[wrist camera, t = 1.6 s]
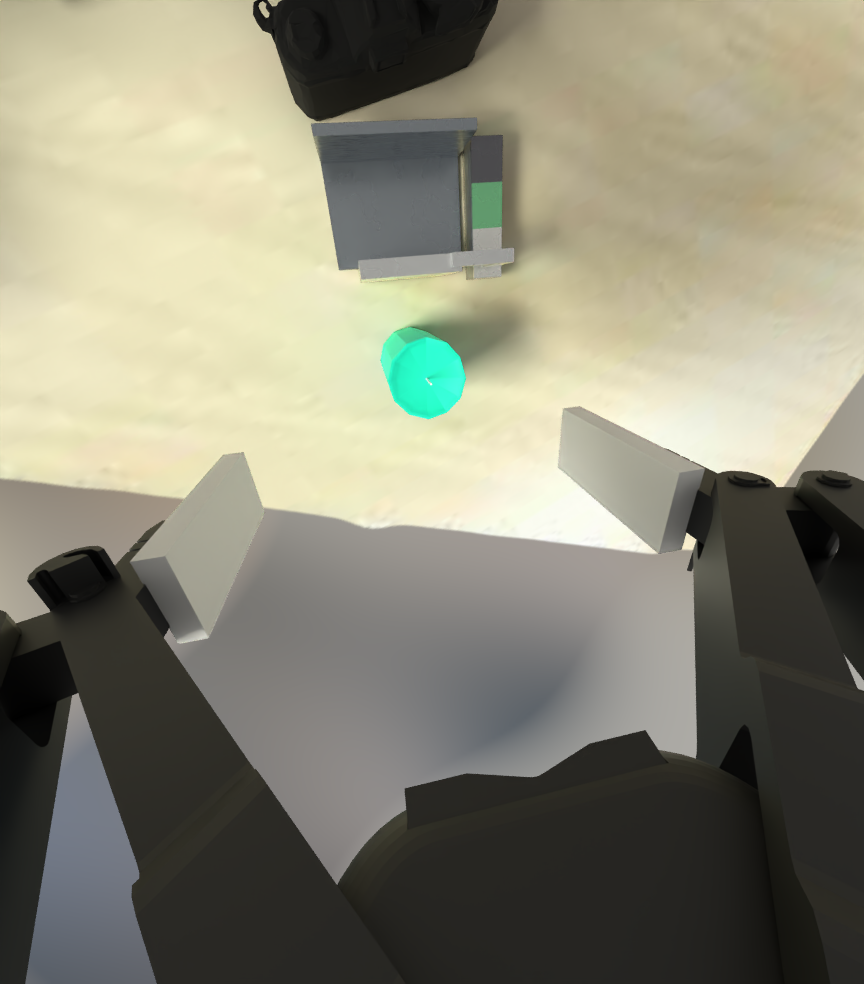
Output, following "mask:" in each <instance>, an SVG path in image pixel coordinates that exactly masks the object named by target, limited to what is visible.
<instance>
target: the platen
mask: <svg viewBox="0 0 864 984" xmlns="http://www.w3.org/2000/svg"><path fill="white" fill-rule="evenodd" d="M513 262H514V248H502V249H490V250H477V251H464V252H452V253H447V254H434V255H421V256H408V257H396V258H383V259H370V260H358V267H359V274H360V281H361V283H364V282H376V281H388V280H399V279H411V278H423V277H434V276H445V275H449V274H453V273H457V272H461V271H462V267H464V266H476V265H481V267H493V266H500V265H504V264H508V263H513Z"/></svg>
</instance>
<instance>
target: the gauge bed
mask: <svg viewBox="0 0 864 984" xmlns="http://www.w3.org/2000/svg"><path fill="white" fill-rule="evenodd" d="M311 126H312V132H313V137H314V141H315V144H316V148H317V151H318V155H319V158H320V162H321V166H322V172H323V178H324V184H325V190H326V196H327V202H328V207H329V213H330V219H331V225H332V231H333V237H334V243H335V249H336V255H337V260H338V266H339V270H350V269H359V267H358V260H370V259H383V258H396V257H408V256H421V255H434V254H447V253H452V252H461V235H460V206H459V177H458V156H459V155H460V153H461V152H462V150H463V180H464V213H465V246H466V251H477V250H490V249H502V146H503V135H491V136H473V135H474V133H475V132H476V130H477V118H453V119H426V120H398V121H370V122H343V123H315V124H311ZM495 277H501V265H500V266H493V267H481V265H476V266H466V280H473V279H485V278H495Z"/></svg>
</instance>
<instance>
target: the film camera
mask: <svg viewBox="0 0 864 984" xmlns="http://www.w3.org/2000/svg"><path fill="white" fill-rule="evenodd" d="M262 1H263V2H265V3H266V4H267V5H266V9H267V10H268V12H269V13H270V14H269V17H268V18H265V17H264V15H263V14H262V13H261V11H260V9H259V7H258V6H259V3H260V2H262ZM497 3H498V0H282V1H280V2H278V5H277V6H274V7H272V6H271V4H270V3H269V2H268V0H257V1H255V2H254V5H253V15H254V17H255V19H256V21H257V23H258V25H259V26H260V28H261V29H262V30H263V31H265V32H268V33H270V34H271V35H272V38H273V40H274V42H275V44H276V48H277V51H278V54H279V57H280V60H281V63H282V66H283V69H284V72H285V75H286V78H287V81H288V84H289V87H290V90H291V93H292V95H293V98H294V101H295V103H296V104H297V105H298V106H299V107H300V109H301V110H302V111H303V112H304V113H305V114H306V115H307V116H308V117H309V118H312V119H314V120H316V121H320V120H322V119H326V118H332V117H334V116H337V115H339V114H340V113H344V112H347V111H350V110H353V109H356V108H359V107H362V106H365V105H368V104H370V103H373V102H376V101H379V100H381V99H384V98H388V97H391V96H394V95H397V94H399V93H402V92H405V91H408V90H411V89H413V88H416V87H419V86H421V85H424V84H427V83H430V82H433V81H435V80H437V79H440V78H442V77H445V76H447V75H449V74H452V73H454V72H456V71H458V70H460V69H462V68H465V67H467V66H468V65H469V63H470V62H471V61H472V60H473V58H474V56H475V52H476V49H477V47H478V45H479V43H480V41H481V39H482V37H483V35H484V33H485V31H486V29H487V27H488V25H489V22H490V21H491V19H492V17H493V15H494V14H495V11H496V7H497Z"/></svg>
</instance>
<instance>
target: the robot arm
mask: <svg viewBox="0 0 864 984" xmlns="http://www.w3.org/2000/svg"><path fill="white" fill-rule="evenodd" d="M558 468H559V469H560V470H562V471H563V472H564V473H565V474H566V475H567V476H569V477H570V478H571V479H572V480H573V481H574V482H576V483H577V484H578V485H579V486H580V487H581V488H582V489H584V490H585V491H586V492H587V493H588V494H589V495H591V496H592V497H593V498H594V499H595V500H596V501H598V502H599V503H600V504H601V505H602V506H603V507H605V508H606V509H607V510H608V511H609V512H610V513H612V514H613V515H614V516H615V517H616V518H617V519H619V520H620V521H621V522H622V523H623V524H624V525H626V526H627V527H628V528H629V529H630V530H631V531H633V532H634V533H635V534H636V535H637V536H638V537H640V538H641V539H642V540H643V541H644V542H645V543H647V544H648V545H649V546H650V547H651V548H652V549H654V550H655V551H656V552H657V553H658V554H661V553H666V552H672V551H677V550H681V549H682V546H683V543H684V539H685V536H686V532H687V533H688V534H690V535H691V536H692V537H694V538H695V539H697V540H696V543H695V546H694V549H693V553H692V556H691V559H690V563H689V566H688V569H687V570H688V571H692V569H694V618H695V668H696V715H697V755H696V759H695V758H692V757H689V756H685V755H682V754H677V753H671V752H667V751H661V750H658V749H657V747H656V746H655V744H654V743H653V741H652V740H651V738H650V737H649V735H648V734H647V732H646V731H645V730H644V731H640V732H636V733H632V734H628V735H623V736H620V737H615V738H611V739H607V740H603V741H599V742H595V743H590V744H588V745H587V746H585V747H584V748H582V749H581V750H579V751H577V752H576V753H575V754H573V755H571V756H570V757H568V758H567V759H565V760H563V761H562V762H560V763H559V764H557V765H556V766H554V767H553V768H551V769H549V770H548V771H546V772H545V773H543V774H541V775H540V776H537V777H516V776H499V775H483V774H463V775H459V776H455V777H451V778H446V779H442V780H438V781H434V782H430V783H426V784H421V785H418V786H414V787H409V788H405V797H406V798H405V799H406V810H405V811H404V812H402V813H400V814H399V815H397V816H396V817H394V818H393V819H391V820H390V821H389V822H388V823H387V824H385V825H384V826H383V827H382V828H380V829H379V830H378V831H377V832H376V833H375V834H374V835H373V836H372V838H371V839H369V840H368V842H367V843H366V844H365V845H364V846H363V847H362V849H361V850H360V851H359V853H358V854H357V855H356V856H355V858H354V859H353V860H352V862H351V863H350V865H349V867H348V868H347V870H346V871H345V873H344V875H343V876H342V878H341V879H340V881H339V883H338V885H337V884H336V883H335V882H334V880H333V879H332V877H331V876H330V874H329V873H328V872H327V870H326V869H325V867H324V866H323V864H322V863H321V861H320V860H319V859H318V857H317V856H316V854H315V853H314V851H313V850H312V849H311V847H310V846H309V844H308V843H307V841H306V840H305V839H304V837H303V836H302V834H301V833H300V832H299V830H298V828H297V827H296V825H295V824H294V823H293V821H292V820H291V818H290V817H289V816H288V814H287V812H286V811H285V810H284V809H283V807H282V805H281V804H280V802H279V801H278V800H277V798H276V797H275V795H274V794H273V792H272V791H271V790H270V788H269V787H268V785H267V784H266V782H265V781H264V780H263V778H262V777H261V775H260V774H259V773H258V771H257V770H256V769H254V768H253V767H252V765H251V764H250V762H249V761H248V760H247V758H246V757H245V755H244V754H243V752H242V751H241V750H240V748H239V747H238V745H237V744H236V742H235V741H234V739H233V738H232V736H231V735H230V733H229V732H228V731H227V729H226V728H225V726H224V725H223V723H222V722H221V720H220V719H219V717H218V716H217V715H216V713H215V712H214V710H213V709H212V707H211V706H210V704H209V703H208V702H207V700H206V699H205V697H204V696H203V694H202V693H201V691H200V690H199V688H198V687H197V686H196V684H195V683H194V681H193V680H192V678H191V677H190V676H189V674H188V672H187V671H186V670H185V668H184V667H183V665H182V664H181V663H180V661H179V660H178V658H177V657H176V655H175V654H174V652H173V651H172V649H171V648H170V646H169V645H168V643H167V642H166V641H165V639H164V636H165V634H166V633H167V631H168V629H169V628H170V630H171V632H172V633H173V635H174V637H175V639H176V640H177V642H178V643H185V642H191V641H195V640H201V639H206V638H209V637H210V634H211V632H212V629H213V628H214V625H215V623H216V621H217V619H218V616H219V614H220V612H221V609H222V607H223V605H224V603H225V601H226V598H227V596H228V594H229V592H230V589H231V587H232V585H233V583H234V580H235V578H236V576H237V574H238V571H239V569H240V567H241V565H242V562H243V560H244V558H245V556H246V554H247V551H248V549H249V547H250V545H251V542H252V540H253V538H254V536H255V533H256V531H257V529H258V527H259V524H260V522H261V520H262V517H263V515H264V509H263V506H262V503H261V501H260V498H259V495H258V492H257V489H256V486H255V483H254V481H253V478H252V475H251V472H250V469H249V466H248V463H247V461H246V458H245V455H244V452H241V453H234V454H227V455H223V456H222V457H221V458H220V459H219V460H218V461H217V462H216V464H215V465H214V466H213V467H212V468H211V469H210V470H209V472H208V473H207V474H206V475H205V476H204V477H203V478H202V480H201V481H200V482H199V483H198V484H197V485H196V486H195V488H194V489H193V490H192V491H191V492H190V493H189V494H188V496H187V497H186V498H185V499H184V500H183V502H181V504H180V505H179V506H178V507H177V508H176V509H175V511H174V512H173V513H172V514H171V515H170V516H169V517H168V519H167V520H164V521H161V522H160V523H158V524H156V525H155V526H153V527H152V528H150V529H149V530H148V531H146V532H145V533H144V535H143V536H142V537H141V538H140V539H139V540H138V541H137V542H138V543H135V544H134V545H133V547H132V548H131V549H130V552H127V553H126V554H125V555H124V556H123V557H122V559H121V560H120V561H119V562H118V563H117V564H116V565H115V566H114V564H113V562H112V561H111V559H110V558H109V556H108V554H107V553H106V551H105V550H104V549H103V548H101V547H99V546H89V547H83V548H78V549H75V550H72V551H69V552H66V553H63V554H61V555H59V556H57V557H54V558H52V559H50V560H48V561H46V562H45V563H43V564H42V565H40V566H39V567H37V568H36V569H35V570H34V571H33V572H32V573H31V574H30V575H29V577H28V580H27V581H28V583H29V584H30V585H31V586H32V588H33V589H34V590H35V592H36V593H37V594H38V595H39V597H40V598H41V599H42V600H43V602H44V603H45V604H46V606H47V607H48V608H49V609H50V612H49V613H46V614H43V615H40V616H38V617H34V618H31V619H28V620H25V621H22V622H19V623H15V622H14V621H13V620H12V619H11V617H9V615H8V614H7V613H6V612H4V611H1V610H0V984H25V981H26V975H27V968H28V962H29V956H30V950H31V944H32V938H33V932H34V926H35V919H36V913H37V907H38V901H39V895H40V888H41V883H42V876H43V870H44V864H45V858H46V852H47V845H48V840H49V833H50V827H51V821H52V815H53V809H54V802H55V797H56V790H57V784H58V778H59V772H60V766H61V760H62V753H63V748H64V741H65V735H66V729H67V723H68V716H69V711H70V705H71V698H72V695H74V694H77V693H79V696H80V699H81V702H82V705H83V708H84V711H85V714H86V717H87V719H88V722H89V725H90V728H91V731H92V734H93V737H94V740H95V743H96V746H97V749H98V751H99V754H100V757H101V760H102V763H103V766H104V769H105V772H106V775H107V778H108V780H109V784H110V786H111V789H112V792H113V795H114V798H115V801H116V804H117V807H118V810H119V813H120V816H121V819H122V821H123V824H124V827H125V830H126V833H127V836H128V839H129V842H130V845H131V848H132V850H133V853H134V856H135V859H136V862H137V865H138V869H139V873H140V874H139V879H138V880H137V881H136V882H135V883H134V884H133V885H132V901H133V905H134V910H135V914H136V918H137V921H138V924H139V927H140V930H141V934H142V937H143V940H144V944H145V946H146V950H147V953H148V956H149V960H150V963H151V966H152V969H153V972H154V976H155V979H156V982H157V984H864V691H862V690H859V689H858V688H857V686H856V684H855V681H854V679H853V676H852V674H851V672H850V669H849V667H848V664H847V662H846V659H845V656H846V657H847V659H848V660H849V661H850V663H851V664H852V665H853V667H854V668H855V669H856V671H857V672H858V673H859V674H860V676H861V677H862V679H863V680H864V481H862V480H860V479H858V478H855V477H852V476H849V475H847V474H846V473H842V472H837V471H831V470H829V471H807V472H804V473H803V474H802V475H801V477H800V479H799V481H798V484H797V486H796V487H776V485H775V484H774V483H773V482H772V481H771V480H769V479H768V478H765V477H763V476H760V475H756V474H753V473H749V472H742V471H726V472H721V473H719V474H717V473H715V472H713V471H711V470H709V469H707V468H705V467H703V466H701V465H699V464H697V463H695V462H693V461H690V460H689V459H687V458H685V457H683V456H680V455H679V454H677V453H675V452H673V451H671V450H669V449H665V448H663V447H661V446H659V445H657V444H655V443H653V442H651V441H649V440H647V439H645V438H643V437H641V436H638V435H636V434H634V433H632V432H630V431H628V430H626V429H624V428H622V427H620V426H618V425H616V424H614V423H612V422H610V421H608V420H606V419H604V418H602V417H600V416H598V415H596V414H594V413H592V412H590V411H588V410H586V409H584V408H582V407H580V406H579V407H572V408H564V409H563V413H562V425H561V437H560V448H559V460H558ZM837 549H838V550H837ZM836 551H837V552H836ZM843 653H844V654H843ZM844 655H845V656H844Z"/></svg>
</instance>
